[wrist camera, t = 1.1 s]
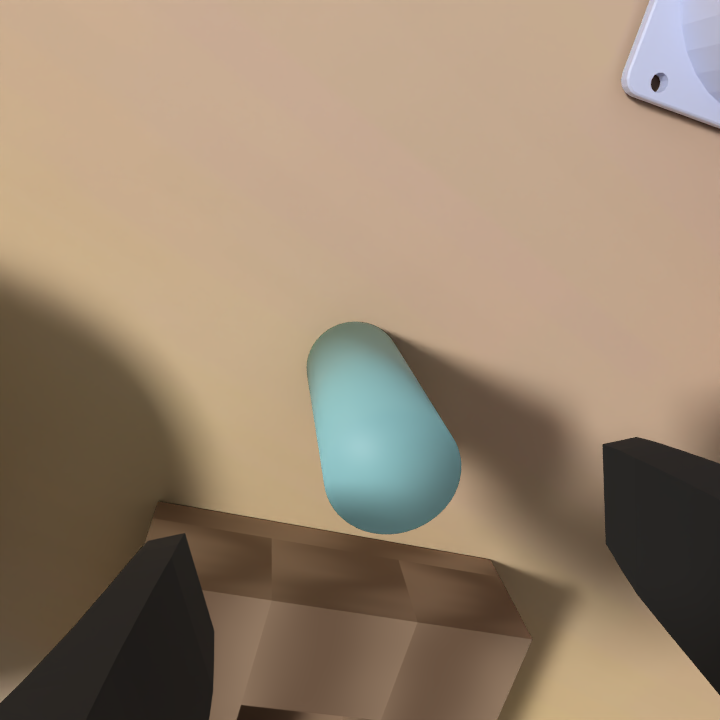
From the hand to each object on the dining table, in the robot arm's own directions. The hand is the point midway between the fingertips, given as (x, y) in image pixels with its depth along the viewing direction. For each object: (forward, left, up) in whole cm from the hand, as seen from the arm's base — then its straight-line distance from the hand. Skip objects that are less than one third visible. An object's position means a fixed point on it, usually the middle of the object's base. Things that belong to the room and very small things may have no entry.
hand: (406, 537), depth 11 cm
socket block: (-1, +12, -10) cm, 16 cm away
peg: (0, 0, -10) cm, 10 cm away
